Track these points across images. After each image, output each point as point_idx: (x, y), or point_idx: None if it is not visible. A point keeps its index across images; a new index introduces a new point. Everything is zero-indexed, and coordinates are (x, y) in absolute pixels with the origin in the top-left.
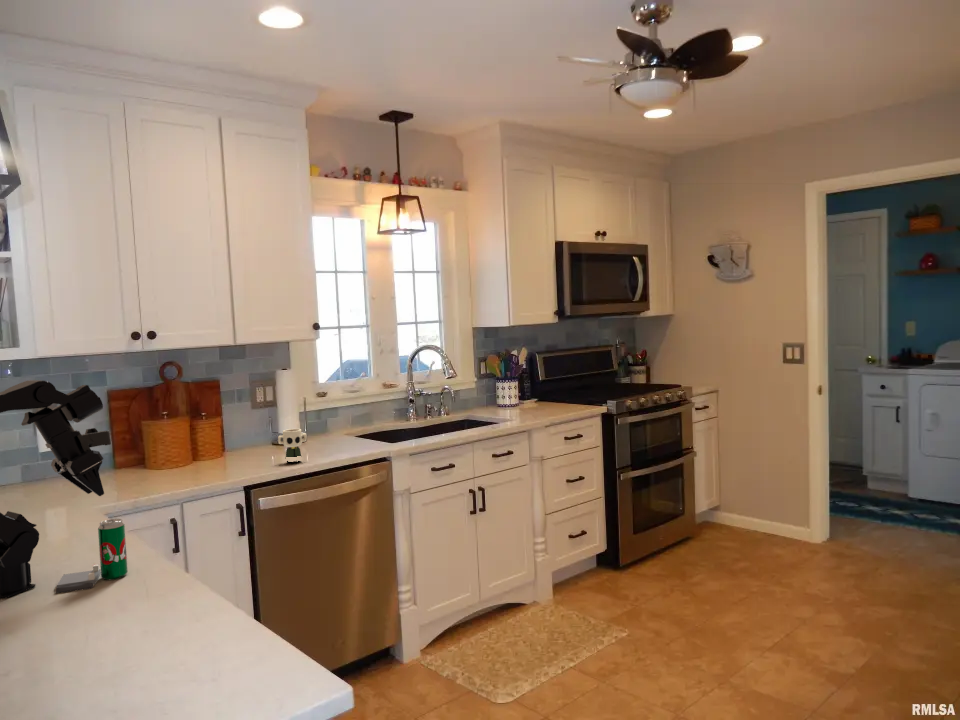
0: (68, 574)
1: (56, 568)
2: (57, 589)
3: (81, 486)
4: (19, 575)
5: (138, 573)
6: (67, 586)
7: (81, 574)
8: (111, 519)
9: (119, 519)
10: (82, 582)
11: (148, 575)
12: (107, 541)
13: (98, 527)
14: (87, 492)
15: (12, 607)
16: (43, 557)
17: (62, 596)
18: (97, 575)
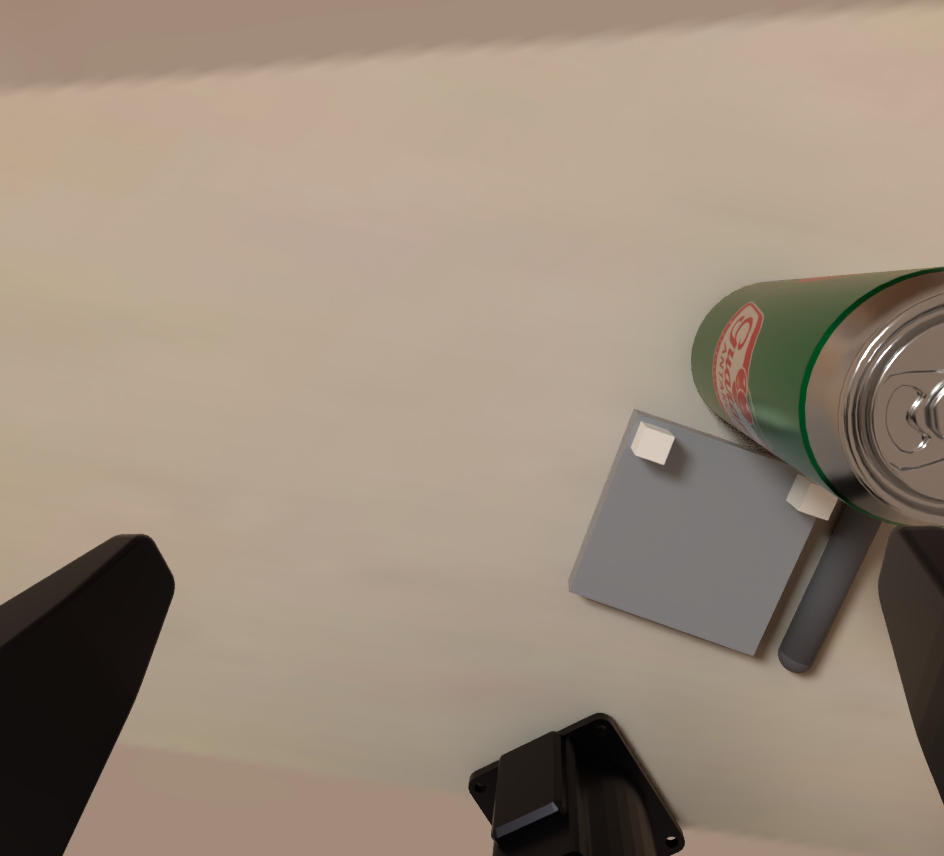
0: (592, 572)
1: (322, 573)
2: (813, 659)
3: (87, 755)
4: (648, 844)
5: (822, 225)
6: (827, 617)
7: (657, 518)
8: (858, 383)
9: (937, 307)
10: (804, 538)
11: (924, 182)
12: None
13: (892, 520)
14: (166, 610)
15: (849, 837)
16: None
17: (886, 641)
18: (746, 449)
